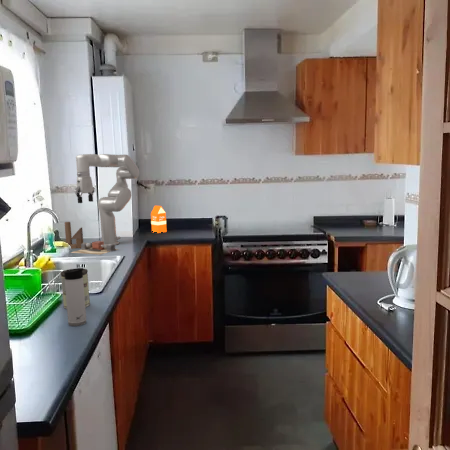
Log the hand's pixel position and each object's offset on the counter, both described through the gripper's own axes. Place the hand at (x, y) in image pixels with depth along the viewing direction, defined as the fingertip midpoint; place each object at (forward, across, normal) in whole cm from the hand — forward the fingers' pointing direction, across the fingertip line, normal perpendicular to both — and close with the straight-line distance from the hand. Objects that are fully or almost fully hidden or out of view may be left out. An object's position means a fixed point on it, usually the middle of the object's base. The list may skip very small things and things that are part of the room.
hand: (85, 202), depth 325 cm
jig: (+30, -6, -10) cm, 32 cm away
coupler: (+29, -3, -10) cm, 31 cm away
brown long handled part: (+31, -2, +10) cm, 32 cm away
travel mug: (+31, -115, -95) cm, 152 cm away
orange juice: (+31, +75, -3) cm, 81 cm away
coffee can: (+31, -98, -79) cm, 130 cm away
